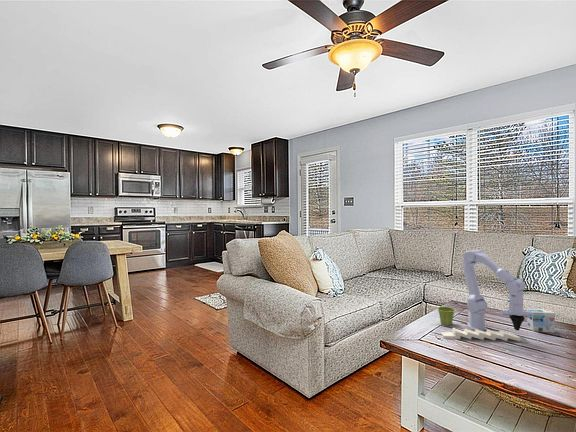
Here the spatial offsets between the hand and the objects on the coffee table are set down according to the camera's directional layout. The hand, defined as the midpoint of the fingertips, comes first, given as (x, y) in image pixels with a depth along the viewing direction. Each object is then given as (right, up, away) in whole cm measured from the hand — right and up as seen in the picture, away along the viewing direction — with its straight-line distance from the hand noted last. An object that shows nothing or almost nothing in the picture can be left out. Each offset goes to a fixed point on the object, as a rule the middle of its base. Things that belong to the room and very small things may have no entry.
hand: (516, 329), depth 162 cm
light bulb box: (+22, -5, +12) cm, 26 cm away
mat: (-12, -6, +2) cm, 14 cm away
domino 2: (-22, -5, +4) cm, 23 cm away
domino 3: (-16, -5, +3) cm, 17 cm away
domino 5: (-5, -5, +1) cm, 7 cm away
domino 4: (-11, -5, +2) cm, 12 cm away
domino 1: (-27, -5, +5) cm, 28 cm away
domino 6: (+1, -4, 0) cm, 4 cm away
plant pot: (-23, -6, +26) cm, 35 cm away
